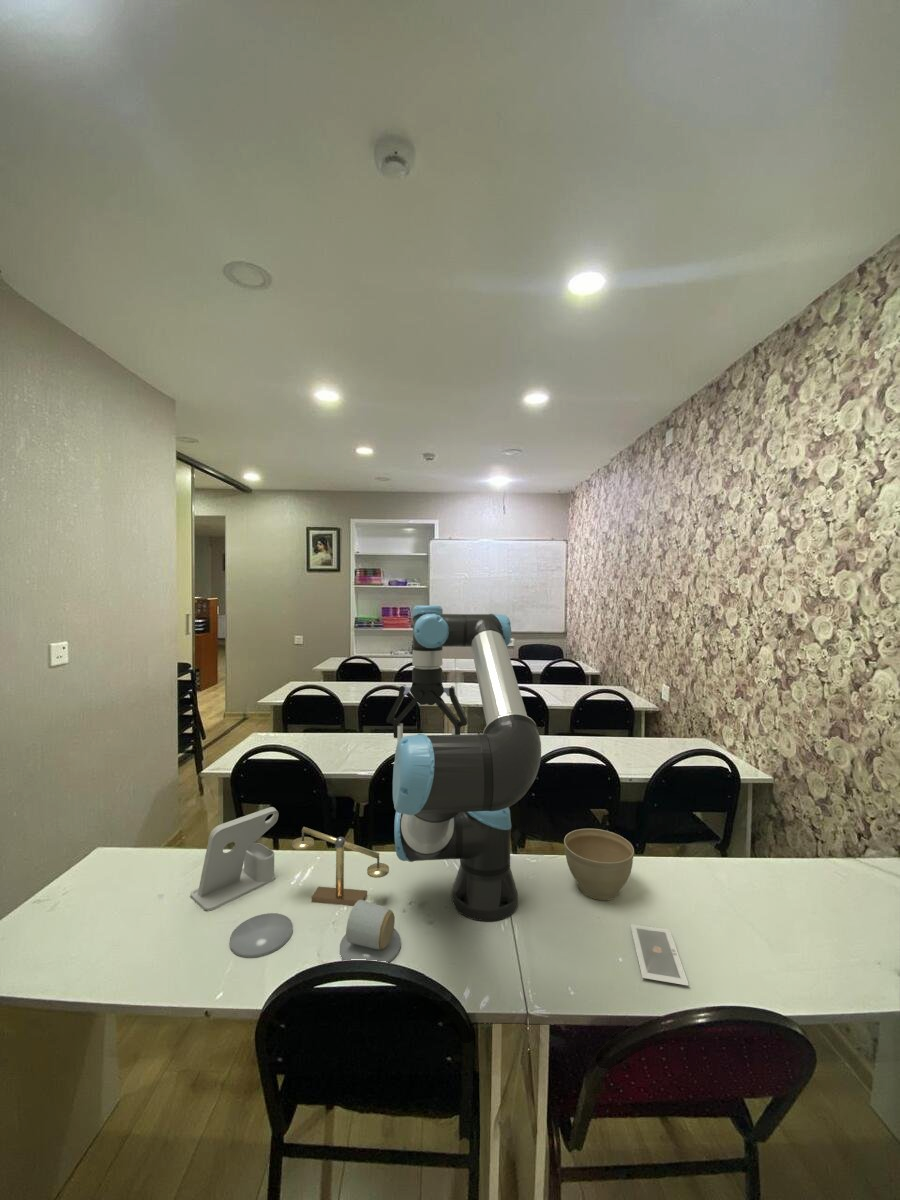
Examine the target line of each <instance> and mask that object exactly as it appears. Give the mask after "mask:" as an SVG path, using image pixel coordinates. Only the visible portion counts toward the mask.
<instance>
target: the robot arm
mask: <svg viewBox="0 0 900 1200" xmlns="http://www.w3.org/2000/svg"><path fill="white" fill-rule="evenodd" d="M443 611H444V609H443V608H442V606H441V605H414V607H413V610H412V618H411V620H412V655H411V656H412V660H411V661H412V662H411V663H412V666H414V667H413V668H412V670H411V672H412V673H411V674H412V677H411V680H412V681H411V683H412V684H411V686H407V685H406V684H402V685H400V686H399V689H398V695H397V698H396V699H395V702H394V704H393V706H392V707H391V709H390V711H389V714H388V715H387V718H386V720H385V721H386V723H387V724H392V725H393V738H394V739H396V740H397V744H396V747H395V748H396V749H395V753H394V761H393V768H392V769H393V770H392V771H393V772H392V801H393V803H392V804H393V805H394V806H393V808H394V810H395V815H394V824H393V826H394V827H393V828H394V830H393V833H394V837H393V838H394V846H395V853H396V857H397V858H398V859H399V860H400V861H403V862H410V863H413V862H418V861H421V862H423V861H435V860H436V861H437V860H438V861H439V860H460V863H459V867H458V870H457V874H456V877H455V879H454V882H453V886H452V897H451V898H452V899H451V900H452V903H453V907H454V908H455V909H456V910H457V911H458V912H459V913H460V914H462V916H465V917H467V918H470V919H472V920H476V921H481V922H495V921H501V920H504V919H506V918H507V917H509V916H511V915H512V914H513V913H514V912H515V911H516V910H517V907H518V904H519V903H518V899H519V898H518V896H519V894H518V888H517V886H516V882H515V879H514V876H513V872H512V869H511V835H512V834H511V831H512V830H511V829H512V821H511V810H510V807H511V806H513V805H515V804H516V803H517V802H519V801H520V800H521V799H522V798H523V797H524V796H525V795H526V794H527V792H528V791H529V790H530V789H531V787H532V786H533V783H534V781H535V780H536V777H537V775H538V772H539V769H540V765H541V760H542V759H541V758H542V742H541V736H540V733H539V729H538V727H537V724H536V722H535V721H534V720H533V718H531V717H529V715H527V714H528V713H527V711H526V706H525V704H524V701H523V697H522V694H521V691H520V687H519V684H518V680H517V677H516V674H515V671H514V668H513V667H514V666H513V664H512V661H511V658H510V657H511V656H510V655H509V651H508V647H507V646H510V645H509V644H510V643H511V640H512V627H511V620H510V618H509V617H508V616H507V615H505V614H496V613H489V614H488V613H485V614H484V613H483V614H482V613H481V614H480V613H473V614H472V613H471V614H470V613H469V614H468V613H467V614H465V613H464V614H463V613H462V614H461V613H444V612H443ZM445 647H447V648H448V647H449V648H452V647H453V648H454V647H455V648H459V647H461V648H462V647H463V648H465V647H466V648H471V651H472V656H473V662H474V668H475V673H476V677H477V683H478V687H479V692H480V693H479V694H480V697H481V703H482V709H483V714H484V720H485V725H486V726H485V727H484V729H483V731H482V733H469V734H468V733H466V734H461V728H462V727H465V726H467V725H468V723H469V721H468V717H467V716H466V714H465V711H464V710H463V708H462V705H461V703H460V701H459V699H458V697H457V694H456V687H455V686H454V685H451V686H450V687H444V686H443V668H442V666H443V648H445ZM409 692H410V693H411V695H412V696H413V698H412V700H411V701H410V702H409V703H408V704H407V706H406V707H405V708H404V709H403V710H402V711H401V713H400V714H399V715H398V716H397V717H395V716H396V715H397V712H398V710H399V708H400V706H401V705H402V702H403V700H404V698H405V696H406V695H408V694H409ZM444 694H446V696H447V697H449V698H450V699H449V700H450V701H451V703H452V705H453V708H454V710H455V712H456V714H457V716H456V715H455V714H454V712H453V711H452V710H451V709H450V707H449V706H448V704H446V702H445V701H444V699H443V698H442V696H443V695H444ZM416 704H419V705H420V706H425V705H428V706H434V705H436V706H437V707H438V708H439V709H440V710H441V711H442V713H443V714H444V715H445V716H446V718H447V719H448V720H449V721H450V722H451V724H452V727H451V734H440V735H439V734H437V735H436V734H434V735H433V734H431V735H429V734H427V735H426V734H424V733H418V734H412V735H406V736H403V734H404V733H403V732H404V723H401V722H402V721H403V719H404V718H405V717H406V716H407V715H408V713H409V712H411V710H412V709H413V708H414V706H415V705H416Z"/></svg>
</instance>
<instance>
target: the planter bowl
mask: <svg viewBox="0 0 900 1200" xmlns="http://www.w3.org/2000/svg"><path fill="white" fill-rule="evenodd" d="M563 845H564V850H565V851H564V852H565V858H566V859H565V860H566V864H567V867H568V869H569V871H570V873H571V875H572V876H573V878H574V880H575V881H576V883H577V886H578V889H579V890H580V892H582V893H583V894H585V896H587V897H589V898H592V899H594V900H598V901H610V900H613V899H616V898H617V897H618V896H619V895H620V891H621V889H623V887H624V886H625V885H626V883H627V881H628V880H629V878H630V875H631V872H632V869H633V861H634V857H635V849H634V846H633V844H632V843H631V842H630V841H629V840H627V839H626V838H624V837H623V836H621V835H620V834H617V833H615V832H612V831H608V830H604V829H599V828H580V829H575V830H572V831H570V832H568V833H567V834H566V835H565V837H564V839H563Z"/></svg>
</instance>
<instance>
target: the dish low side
mask: <svg viewBox="0 0 900 1200" xmlns="http://www.w3.org/2000/svg"><path fill="white" fill-rule="evenodd" d="M401 945H402V943H401V935H400V933H399V932H398V930H397V929H396V928H394V930H393V933H392V937H391V940H390V942H389V944H388V945H387V946H386V947H385V948H384V949H381V950H379V949H373V948H369V947H365V946H360V945H357V944H353V943H349V942H348V941H347V938H346V933H345V934H344V935H343V937H342V938H341V940H340V943H339V956H340V955H341V956H340V958H341V957H342V959H341V960H342V961H343V960H351V959H366V960H377V961H386V962H390V963H391V962H392V961H394V959H396V957H397V956H398V954H399V952H400V950H401Z"/></svg>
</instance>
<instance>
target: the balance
mask: <svg viewBox="0 0 900 1200" xmlns="http://www.w3.org/2000/svg"><path fill="white" fill-rule="evenodd" d="M305 835H308V836H305ZM310 836H311V837H310ZM313 837H315V838H316V839H317V838H318V839H320V840H323V841H326V842H329V843H331V844H334V846H335V847H336V849H335V887H329V886H318V887H317V888H316V889H315V891H314V892H313V894H312V895H311V897H310V898H311V903H320V904H328V905H341V906H351V907H353V906H354V905H355V903H356V902H357V901H358V900H364V901H366V900H367V898H368V890H367V889H365V890H363V889H352V888H345V848H346V849H349V850H351V851H354V852H357V853H360V854H363V855H366V856H367V857H368V856H369V857H372V858H373V859H376V863H372V864H370V865H369V866H368V867H367V869H366V874H367V875H368V876H369V877H371V878H374V879H375V878H376V879H378V878H384V877H385V876H387V875H388V874H389V873H390V867H389V865H388V864H386V863H382V862H380V852H377V851H374V850H371V849H368V848H366V847H363V846H360V845H359V844H358V845H357V844H354V843H352V842H349V841H346V838H345V837H344V836H338V837H335V836H332V835H328V834H325V833H322V832H320V831H318V830H314V829H311V828H308V827H307V826H306V827H305V826H303V827H302V829H301V837H298V838H295V839H294V840H292V842H291V848H292V849H293V850H296V851H304V850H308V849H310V848H312V847H313V846H314V844H315V840H314V838H313Z"/></svg>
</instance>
